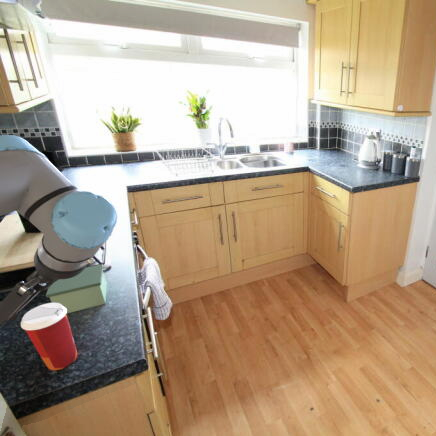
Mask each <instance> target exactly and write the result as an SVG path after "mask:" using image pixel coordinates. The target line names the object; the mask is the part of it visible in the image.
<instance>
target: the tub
mask: <svg viewBox="0 0 436 436" xmlns="http://www.w3.org/2000/svg"><path fill="white" fill-rule="evenodd" d="M107 293H108V283H107V280H106V276H105V273H104V264H103V263H101V264H98V265H96V264H95V265H92V266H86V268H85V269H84V270H83V271H82V272H81V273H80V274H78V275H77V276H74V277H72V278H68V279H59V280H58V281H56V282H54V283H53V284H52V285H51V286H50V287H49V288H47V291H46V293H45V297H46V298H49V300H50V303H60V304H62V305H63V306H64V307H65V308H66V309H67V313H66V315H67V314H70V313H75V312H78V311H83V310H86V309H91V308H94V307H97V306H101V305H105V304H107V303H106V302H107Z"/></svg>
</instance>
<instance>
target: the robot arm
mask: <svg viewBox="0 0 436 436" xmlns="http://www.w3.org/2000/svg"><path fill="white" fill-rule="evenodd" d="M13 212H17V213H18V214H20V215H21V216H22V218H24V219H26V220H27V221H28V222H29V223H31V224H32V225H33V226H34V227H35V228H37V230H39V231H40V232H41V233H42V234H43V236H42V237H41V240H40V242H39V243H38V245H37V248H36V251H35V253H34V256H33V265H34V268H35V270H34V271H33V272H32V273H30V274H29V275H28V276H27V277H26V282H25V281H23V280H22V281H18V282H17V283H16V284H15V285H14V287H13V288H12V290H11V291H10V292H9V293H8V294H7V295H6V296H5V297H4V298H3V299H2V300H1V301H0V325H3V324H6V323H8V321H9V320H11V321H12V322H13V323H15V322H16V321H17V320H19V318H20V316H21V315H22V313H23V311H24V308H25V306H27V305H28V304H29V303H30V302H31V301H32V300H34V298H35V297H37V296H38V294H40V293H41V292H44V291H46V290H48V288H49V287H50V286H51V285H52V284H53V283H54V282H56V281H58V280H59V279H68V278H72V277H74V276H77V275H78V274H80V273H81V272H82V271H83V270H84V269H85V268H86V267H88V265H92V264H93V263H95V260H96V259H95V258H96V254H97V253H98V252H99V250H100V249H101V248H102V246H103V245H104V244H105V243H106V242H107V241H108V240H109V238H110V237H111V236H112V234H113V231H114V228H115V227H116V225H117V221H118V214H117V210H116V208H115V206H114V205H113V203H112V202H111V201H110V200H109V199H108V198H106V197H105V196H102V195H101V194H98V193H95V192H93V191H89V190H88V191H87V190H80V189H78V188H77V186H75V185H74V184H73V183H72V182H71V181H70V180H69V179H68V178H67V177H66V176H65V175H64V174H63V173H62V172H61V171H60V170H59V169H58V168H57V167H56V166H55V165H54V164H53V163H52V162H51V161H50V160H49V158H48V157H47V155H45V154H44V153H42V152H41V151H39V150H38V149H37V148H36V147H35V146H34V145H32V144H31V143H29V141H28V140H26V139H24V138H23V137H21V136H18V135H13V134H1V135H0V217H2V216H4V215H7V214H10V213H13Z"/></svg>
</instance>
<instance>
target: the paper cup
mask: <svg viewBox="0 0 436 436" xmlns="http://www.w3.org/2000/svg"><path fill="white" fill-rule="evenodd" d="M66 313H67V309H66V308H65V307H64V306H63V305H62V304H60V303H52V302H48V303H43V304H40V305H37V306H36V307H33V308H31V309H30V310H29V311H27V312H26V313H24V315H23V316H22V318H21V321H20V327H21V329H23V330H24V331H25V332H26V334H27V336H28V337H29V339H30V341H31V342H32V344H33V346H34V348H35V350H36V351H37V352H38V354H39V356H40V358H41V360H42V361H43V363H44V364H45V366H46V367H47V369H48V370H50V371H58V370H59V371H60V370H62V369H64V368H67V367H68V366H70V365H72V364H73V363H74V362H75V361H76V360H77V358H78V351H77V347H76V342H75V339H74V336H73V332H72V329H71V325H70V322H69V319H68V315H67V314H68V313H67V314H66Z"/></svg>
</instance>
